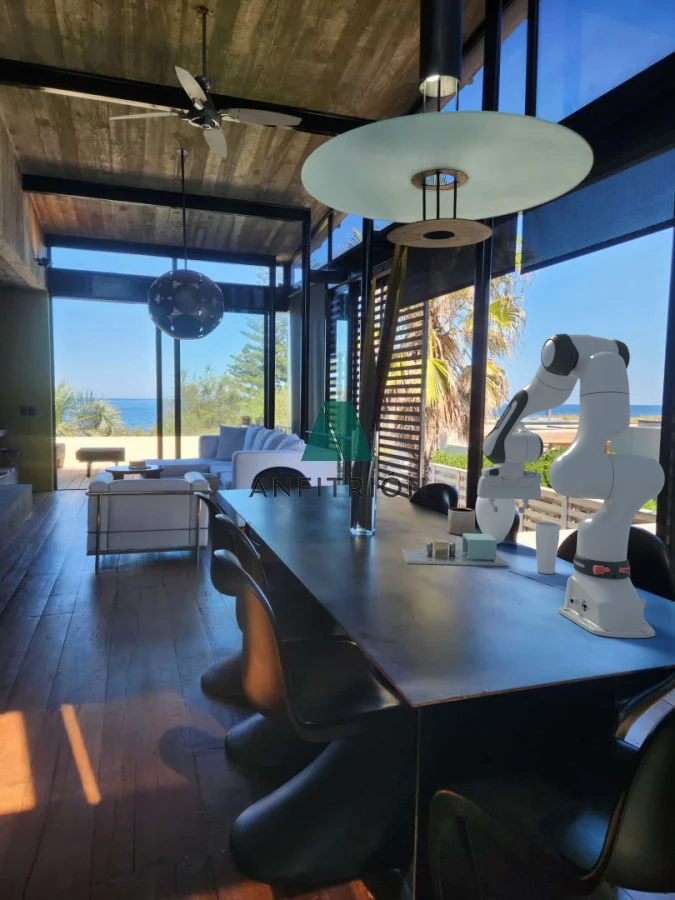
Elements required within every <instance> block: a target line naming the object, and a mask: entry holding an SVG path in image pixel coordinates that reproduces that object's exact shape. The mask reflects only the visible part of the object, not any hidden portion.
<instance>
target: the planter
mask: <svg viewBox="0 0 675 900" xmlns="http://www.w3.org/2000/svg"><path fill="white" fill-rule="evenodd" d="M447 511H448V512H447V526H446V527H447V532H448V533H449V534H450V533H452V534H451V535H454V534H458V535H457V536H463V533H469V534H475V532H476V531H475V530H476V528H475V527H476V509H472V508H467V507H451V508H450V507H449V508H448V510H447Z"/></svg>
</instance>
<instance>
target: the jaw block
mask: <svg viewBox="0 0 675 900" xmlns="http://www.w3.org/2000/svg"><path fill="white" fill-rule="evenodd" d="M433 550H434V555H435V557H448V550H449V541H448V540H447V539H444V538H439V539H437V538H434V541H433Z"/></svg>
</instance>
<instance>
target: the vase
mask: <svg viewBox="0 0 675 900" xmlns="http://www.w3.org/2000/svg"><path fill="white" fill-rule="evenodd" d="M493 503H494V505H495V506H497V507H498V512H492V506H491V504H490V502H489V498H480V497H479V496H478V495H477V498H476V502H475V518H476V522H477V525H478V527H479V529H480V531H481V534H490V535H491V536H492V537H493V538H495V539H496V540H497V545H499V544H501V543H503V541H504V540H505V538H506V537H507V535H508V533H509V532H510V530H511V528H512V527H513V524H514V520H515V516H516V499H495V502H493Z"/></svg>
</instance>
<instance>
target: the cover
mask: <svg viewBox="0 0 675 900" xmlns="http://www.w3.org/2000/svg"><path fill="white" fill-rule="evenodd" d="M461 544H462V547H461V551H462V552H468V559H490V560H496V553H497V546H498V544H497V540H496V539H495V538H493V537H492V536H491V535H490V534H483V533H474V534H469V533H463V535H462V543H461Z"/></svg>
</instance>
